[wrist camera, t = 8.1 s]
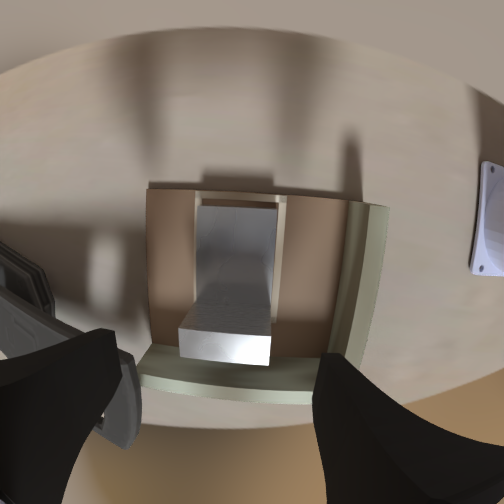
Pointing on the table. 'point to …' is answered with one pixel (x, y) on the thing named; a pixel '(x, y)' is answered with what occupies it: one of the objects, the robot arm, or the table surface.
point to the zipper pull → (58, 340)
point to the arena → (282, 297)
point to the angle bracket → (231, 286)
